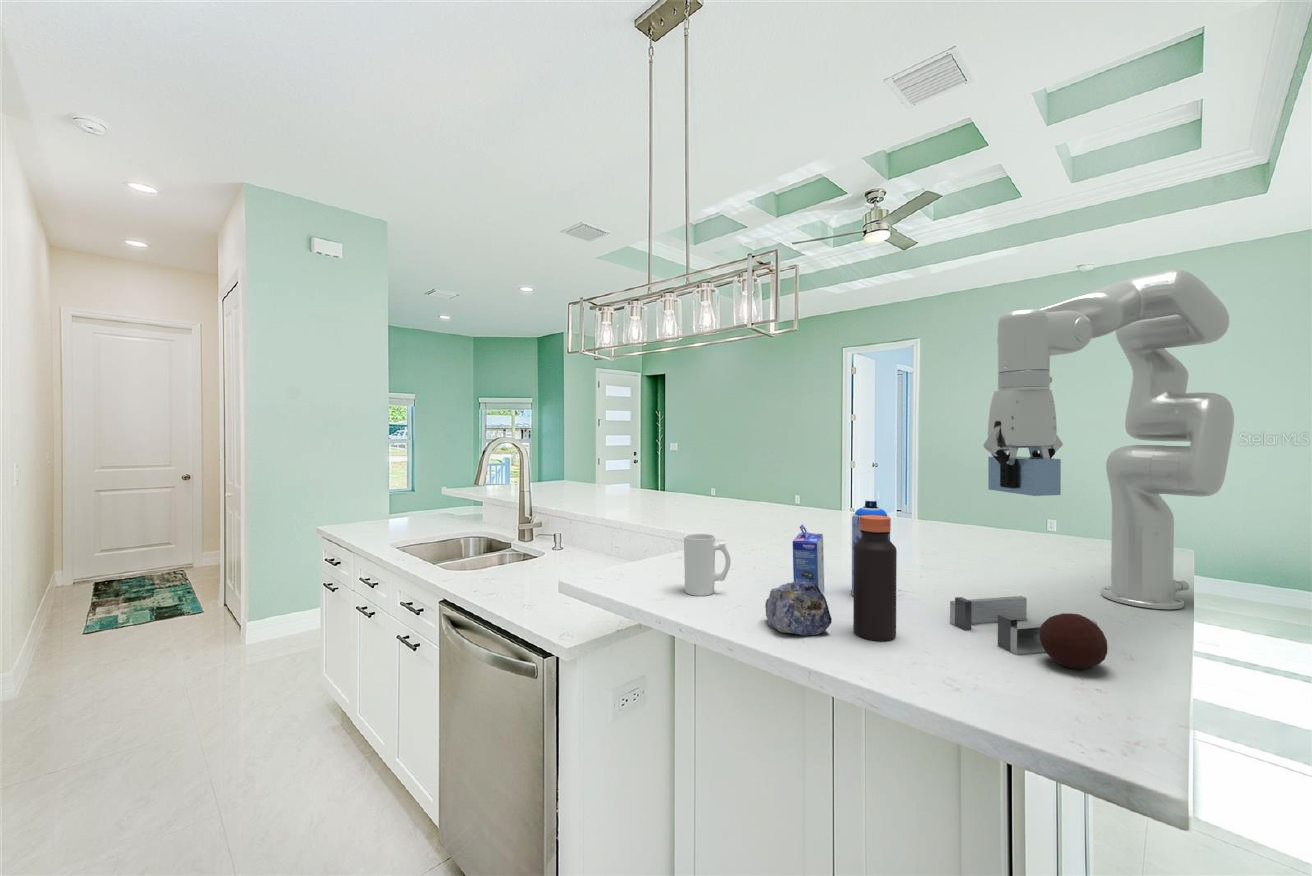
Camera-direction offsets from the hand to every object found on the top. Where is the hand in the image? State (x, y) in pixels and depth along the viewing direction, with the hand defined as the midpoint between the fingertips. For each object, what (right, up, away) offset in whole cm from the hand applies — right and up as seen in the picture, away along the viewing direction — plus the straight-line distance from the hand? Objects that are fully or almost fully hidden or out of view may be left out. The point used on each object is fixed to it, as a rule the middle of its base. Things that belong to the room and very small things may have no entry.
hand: (1023, 486), depth 97 cm
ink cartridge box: (-32, -25, +21) cm, 46 cm away
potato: (-3, -25, -15) cm, 30 cm away
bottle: (-27, -25, -2) cm, 37 cm away
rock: (-40, -25, +1) cm, 47 cm away
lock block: (0, -1, 0) cm, 1 cm away
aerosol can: (-19, -25, +20) cm, 37 cm away
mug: (-53, -25, +22) cm, 63 cm away
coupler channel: (-2, -25, -3) cm, 25 cm away
